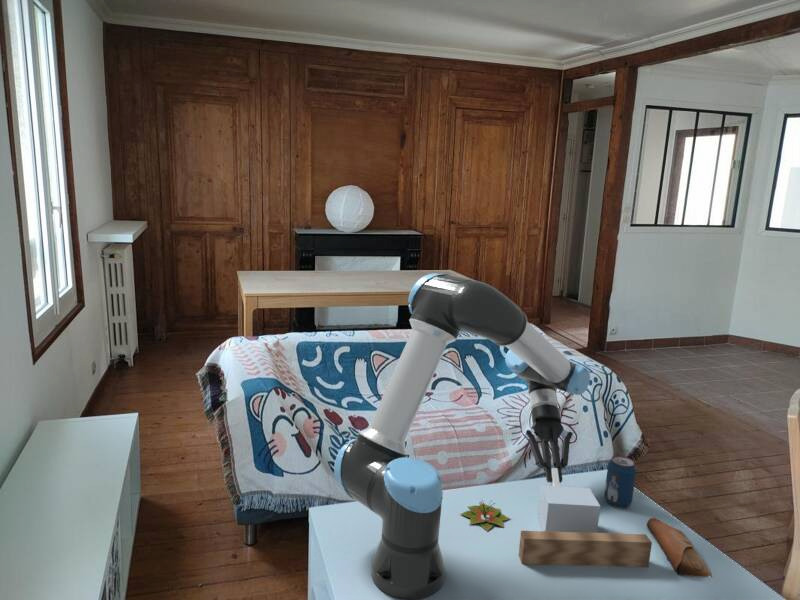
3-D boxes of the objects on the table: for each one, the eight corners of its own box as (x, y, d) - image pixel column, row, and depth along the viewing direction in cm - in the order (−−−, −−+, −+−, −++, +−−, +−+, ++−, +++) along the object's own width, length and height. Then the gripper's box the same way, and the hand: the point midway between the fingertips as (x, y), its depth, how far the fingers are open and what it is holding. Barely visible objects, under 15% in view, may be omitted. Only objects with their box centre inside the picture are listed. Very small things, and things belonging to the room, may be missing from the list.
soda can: (630, 499, 154) (636, 457, 152) (632, 512, 147) (638, 469, 145) (603, 493, 156) (608, 452, 154) (603, 506, 149) (609, 463, 147)
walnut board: (521, 563, 124) (524, 538, 123) (518, 555, 127) (521, 530, 126) (648, 567, 125) (652, 542, 124) (642, 558, 128) (645, 534, 127)
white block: (544, 538, 134) (548, 503, 132) (537, 519, 142) (540, 485, 140) (595, 541, 134) (600, 506, 132) (585, 521, 142) (589, 488, 140)
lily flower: (450, 515, 142) (451, 498, 141) (482, 500, 150) (484, 484, 149) (487, 539, 133) (489, 521, 132) (519, 521, 141) (521, 505, 140)
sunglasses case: (716, 578, 123) (704, 553, 122) (685, 590, 124) (672, 565, 123) (680, 529, 140) (669, 507, 139) (653, 541, 141) (642, 518, 140)
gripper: (524, 402, 156) (535, 490, 142) (572, 403, 156) (586, 491, 143) (518, 413, 162) (527, 498, 149) (563, 414, 162) (577, 499, 149)
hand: (556, 495), depth 146 cm, fingers closed
